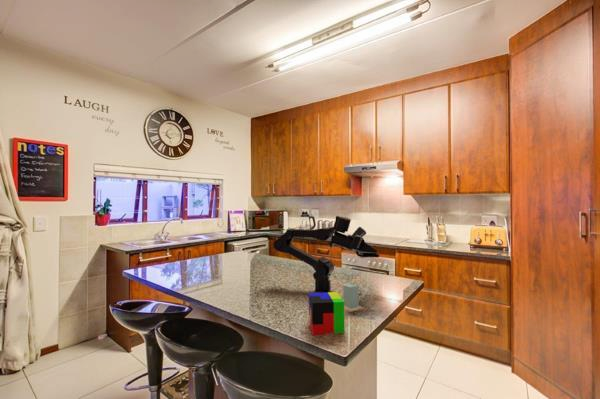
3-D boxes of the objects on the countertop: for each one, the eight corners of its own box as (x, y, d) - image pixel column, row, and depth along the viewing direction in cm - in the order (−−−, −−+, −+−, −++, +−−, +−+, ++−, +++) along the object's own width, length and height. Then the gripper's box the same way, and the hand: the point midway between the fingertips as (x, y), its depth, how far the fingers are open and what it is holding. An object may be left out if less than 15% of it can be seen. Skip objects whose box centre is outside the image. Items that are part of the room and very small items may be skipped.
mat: (365, 309, 109) (365, 308, 109) (344, 314, 105) (344, 313, 105) (343, 299, 122) (343, 298, 122) (323, 303, 117) (323, 302, 117)
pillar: (350, 311, 107) (349, 287, 107) (343, 308, 110) (343, 284, 110) (358, 309, 108) (358, 285, 109) (352, 306, 112) (351, 283, 112)
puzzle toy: (309, 322, 98) (308, 293, 99) (337, 321, 99) (337, 292, 99) (312, 335, 88) (312, 303, 89) (344, 334, 89) (344, 301, 89)
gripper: (347, 218, 123) (382, 231, 116) (354, 230, 139) (386, 242, 132) (337, 242, 120) (372, 256, 113) (346, 251, 137) (377, 264, 130)
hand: (377, 254), depth 122 cm, fingers open, 9 cm apart
